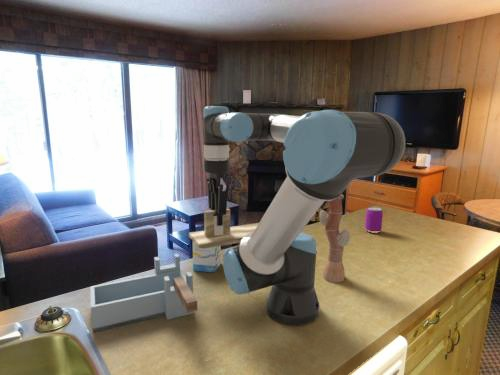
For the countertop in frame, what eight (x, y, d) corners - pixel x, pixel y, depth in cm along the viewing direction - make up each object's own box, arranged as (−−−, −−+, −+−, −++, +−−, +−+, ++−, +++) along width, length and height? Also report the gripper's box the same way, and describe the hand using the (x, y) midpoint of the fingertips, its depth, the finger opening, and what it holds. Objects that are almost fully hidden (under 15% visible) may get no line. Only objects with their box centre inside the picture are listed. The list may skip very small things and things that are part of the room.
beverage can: (382, 231, 165) (384, 208, 163) (379, 235, 159) (381, 211, 156) (366, 228, 169) (368, 205, 167) (363, 232, 163) (365, 209, 160)
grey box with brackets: (194, 313, 93) (193, 275, 91) (93, 338, 82) (89, 295, 80) (179, 286, 108) (178, 253, 106) (92, 304, 97) (89, 268, 94)
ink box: (214, 273, 118) (214, 242, 116) (192, 270, 119) (191, 240, 117) (221, 263, 126) (221, 234, 124) (200, 261, 128) (199, 232, 125)
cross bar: (197, 310, 79) (197, 300, 79) (187, 312, 78) (186, 303, 78) (182, 284, 92) (182, 276, 91) (173, 286, 90) (173, 278, 90)
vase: (350, 279, 114) (356, 195, 108) (336, 285, 109) (342, 197, 104) (326, 268, 122) (331, 189, 116) (312, 273, 118) (316, 192, 112)
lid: (275, 238, 106) (275, 208, 104) (199, 251, 95) (198, 218, 94) (258, 228, 116) (259, 200, 114) (188, 238, 106) (188, 208, 104)
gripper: (238, 161, 94) (237, 239, 98) (219, 156, 107) (220, 225, 111) (213, 162, 91) (214, 243, 95) (197, 157, 104) (198, 228, 108)
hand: (217, 233), depth 103 cm, fingers closed on lid, 2 cm apart
